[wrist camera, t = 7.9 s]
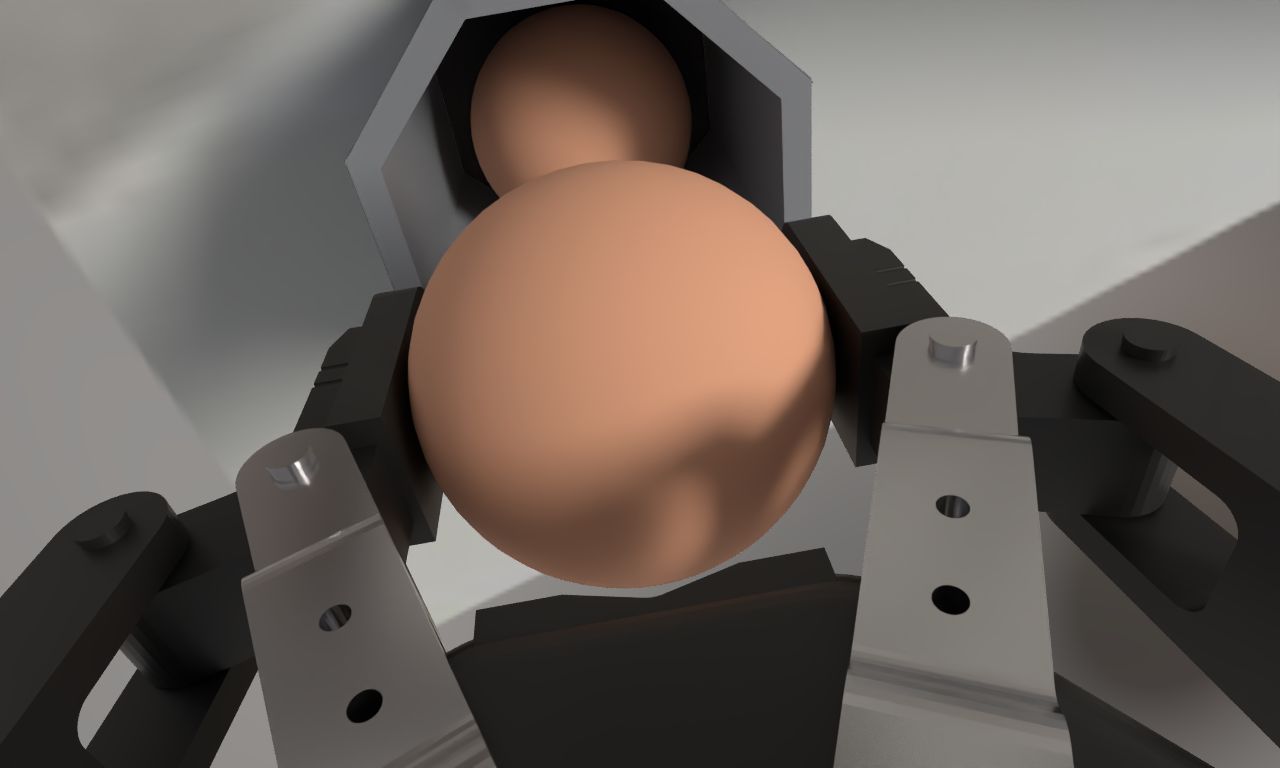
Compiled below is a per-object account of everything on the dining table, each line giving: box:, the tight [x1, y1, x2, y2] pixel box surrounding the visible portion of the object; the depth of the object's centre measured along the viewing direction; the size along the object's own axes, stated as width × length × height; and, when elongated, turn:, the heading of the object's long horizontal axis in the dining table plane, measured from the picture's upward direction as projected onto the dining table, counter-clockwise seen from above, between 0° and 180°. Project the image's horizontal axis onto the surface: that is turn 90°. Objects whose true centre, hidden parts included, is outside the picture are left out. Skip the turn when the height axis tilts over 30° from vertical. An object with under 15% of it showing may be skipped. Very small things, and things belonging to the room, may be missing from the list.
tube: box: [345, 0, 813, 291], centre depth 19 cm, size 9×9×9 cm
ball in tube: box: [471, 4, 692, 198], centre depth 20 cm, size 6×6×6 cm
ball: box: [408, 160, 836, 588], centre depth 11 cm, size 6×6×6 cm
